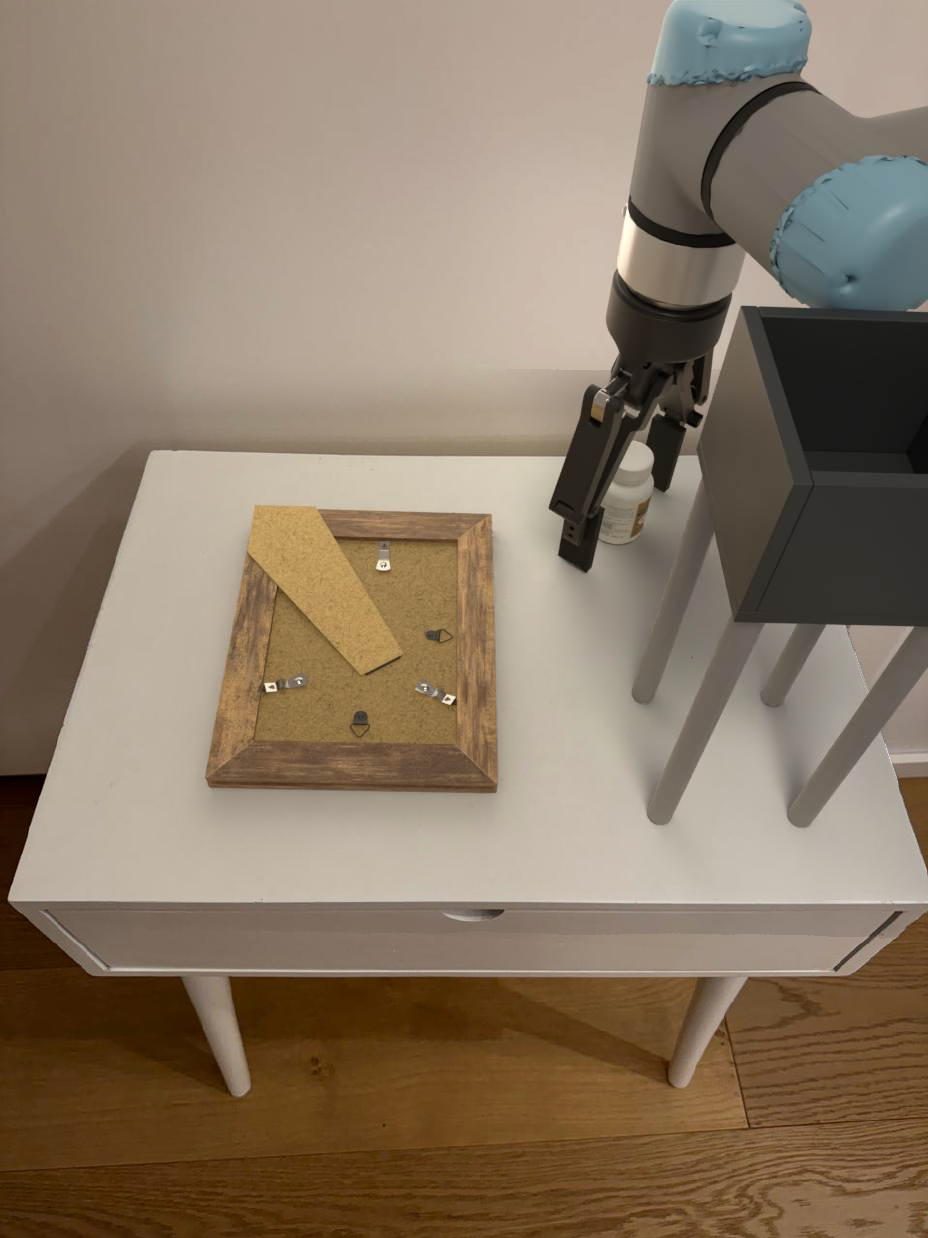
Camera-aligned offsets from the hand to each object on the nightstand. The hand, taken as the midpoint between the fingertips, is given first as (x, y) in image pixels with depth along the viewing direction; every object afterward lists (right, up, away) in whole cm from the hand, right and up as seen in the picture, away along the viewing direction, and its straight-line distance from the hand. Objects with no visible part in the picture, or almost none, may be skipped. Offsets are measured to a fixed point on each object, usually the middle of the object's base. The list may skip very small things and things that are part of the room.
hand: (615, 520), depth 77 cm
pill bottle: (0, -1, 0) cm, 1 cm away
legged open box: (+5, -17, -12) cm, 22 cm away
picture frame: (-19, -10, -8) cm, 23 cm away
